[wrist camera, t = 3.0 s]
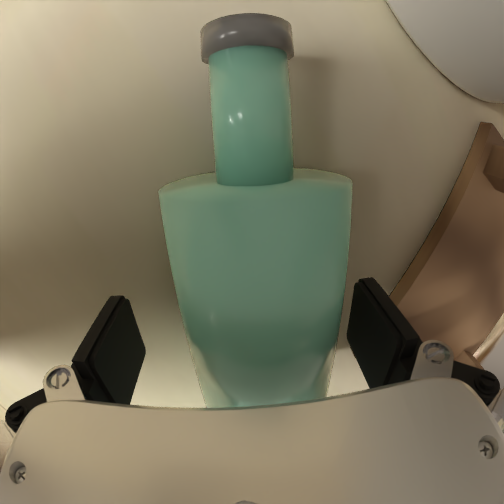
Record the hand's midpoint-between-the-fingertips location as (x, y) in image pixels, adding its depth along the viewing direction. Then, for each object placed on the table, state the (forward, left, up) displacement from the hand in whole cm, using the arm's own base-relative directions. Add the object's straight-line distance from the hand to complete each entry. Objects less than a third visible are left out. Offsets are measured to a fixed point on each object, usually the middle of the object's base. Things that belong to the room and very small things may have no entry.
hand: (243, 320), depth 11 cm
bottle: (+2, +2, -2) cm, 4 cm away
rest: (+7, -14, -3) cm, 16 cm away
